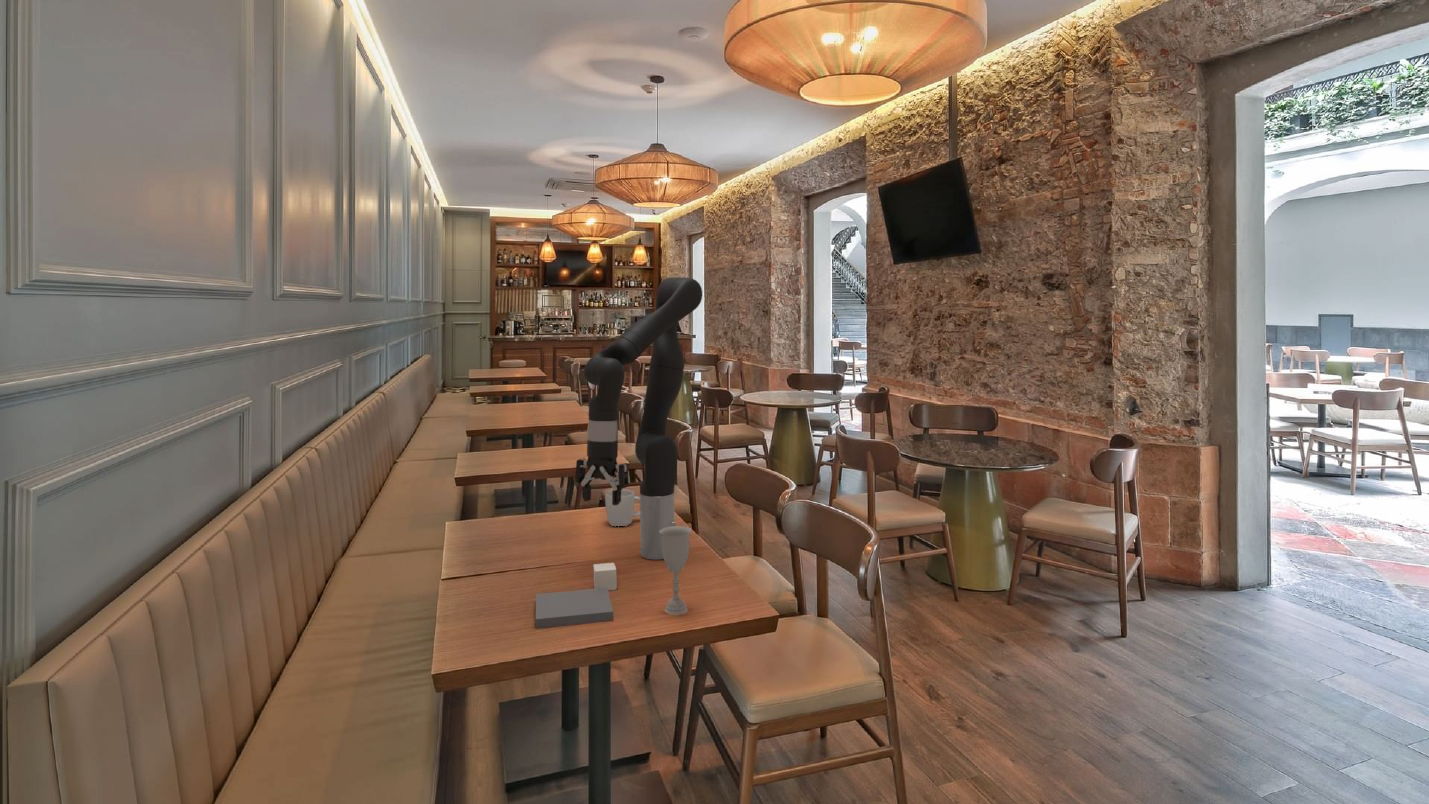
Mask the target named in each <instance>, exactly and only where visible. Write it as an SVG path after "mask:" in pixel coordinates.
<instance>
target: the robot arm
mask: <svg viewBox="0 0 1429 804" xmlns="http://www.w3.org/2000/svg"><path fill="white" fill-rule="evenodd" d="M702 299H703V289H702V286H701V284H700V282H698V281H697V280H695V279H694V278H690V277H675V276H674V277H666V278H664V279H663V280H662V281H661V282H660V283H659V286H658V288H657V292H656V298H655V310H654V311H653V312H650V313H649V314H648V315H646V316H644V317H642V318H641V319H639V320H637V321H636V322H634V323H632V324H631V325H630V326H628V327H627V328H626V329H625V330H624V331H622V334H620V335H619V336H618V337H617V338H616V339H615V341H613V342H612V343H610V344H608V345H607V346H605V347H604V348H603V349H601V350H599V351H598V352H596V353H595V354H593V355H592V356H591V358H590V359H589V360H587V362H586V363H585V366H584V370H583V375H584V378H585V380H586V381H587V382H588V383H589V384H591V385H594V386H597V387H598V389H597V393H596V395H595V396H592V397H590V399H589V402H588V422H587V428H586V429H587V436H586V438H587V439H586V456H587V459H586V458H579V459H577V460H576V465H575V466H576V467H575V478H574V481H575V482H574V483H576V484H577V483H578V484H580V485H581V487H582V488H581V489H582V490H581V493H582V499H583V501H584V502H589V501H590V500H592V485H591V483H592V482H593V481H594V480H595V479H596V480H598V479H599V480H600V479H601V480H603V481H605V480H606V482H607V483H608V484H609V485H610V486H611V488H612V490H611V491H612V505H618V504H619V503H620V502H621V490H624V489H626V488H629V485H630V484H629V482H630V481H629V464H628V463H627V462H626V463H618V461H617V458H618V455H619V454H618V449H619V448H618V447H619V445H618V443H619V426H618V425H619V424H618V402H619V400H620V396H621V393H622V389H623V386H624V380H625V371H624V370H625V369H624V367H623V366H625V365H629V364H632V363H634V362H635V361H636V360H637V359H638V358H639V357H640V356H641V355H642V354H643V353H644V352H645V351H646V350H647V349H648V348H649V347H650V346H651V345H652V349H651V355H650V362H649V367H648V375H647V383H646V384H647V385H646V391H645V395H644V396H645V397H644V405H643V411H642V417H641V420H640V424H639V430H638V433H637V436H636V441H635V446H634V447H635V448H634V450H635V456H636V458H637V460H638V461H639V462H640V463H641V464H643V465H645V466H644V467H645V468H644V469H645V471H644V474H645V475H644V479H643V480H642V481H640V484H639V497H640V502H639V510H640V515H639V523H640V525H639V526H640V529H639V530H640V556H641V557H642V558H644V559H647V560H664V557H663V555H662V536H661V534H660V532H659V531H660V530H661V529H663V528H666V527H672V526H677V521H676V520H675V486H676V483H677V480H678V449H677V445H676V443H675V441H674V440H673V439H672V438H671V437H670V436H667V435H666V432H667V423H668V417H669V414H670V411H671V409H672V408H673V405H674V404H675V401H676V399H677V397H678V396H679V393H680V391H681V388H682V383H683V378H684V377H683V376H684V371H685V370H684V369H685V359H684V354H683V350H682V347H681V344H680V340H679V335H678V322H679V321H682V320H683V319H684V318H685V317H687V316H689V315H690V314H691V313H693V311H695V310H696V309H697V308H698V307H699V305H700V304H701V302H702ZM586 468H588V472H587V473H586ZM616 471H617V472H616ZM617 473H618V474H617Z"/></svg>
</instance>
